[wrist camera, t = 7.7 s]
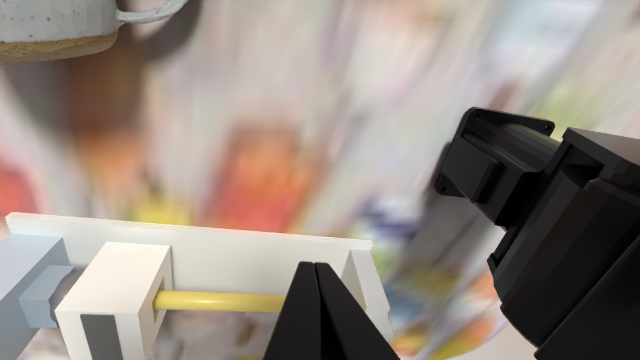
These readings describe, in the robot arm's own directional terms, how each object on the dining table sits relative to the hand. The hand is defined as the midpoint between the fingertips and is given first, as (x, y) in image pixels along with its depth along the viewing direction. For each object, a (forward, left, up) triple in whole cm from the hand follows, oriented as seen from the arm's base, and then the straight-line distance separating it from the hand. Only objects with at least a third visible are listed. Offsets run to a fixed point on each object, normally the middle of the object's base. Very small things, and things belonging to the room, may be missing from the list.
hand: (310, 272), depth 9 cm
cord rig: (+5, +12, -12) cm, 18 cm away
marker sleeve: (+9, +12, -11) cm, 19 cm away
